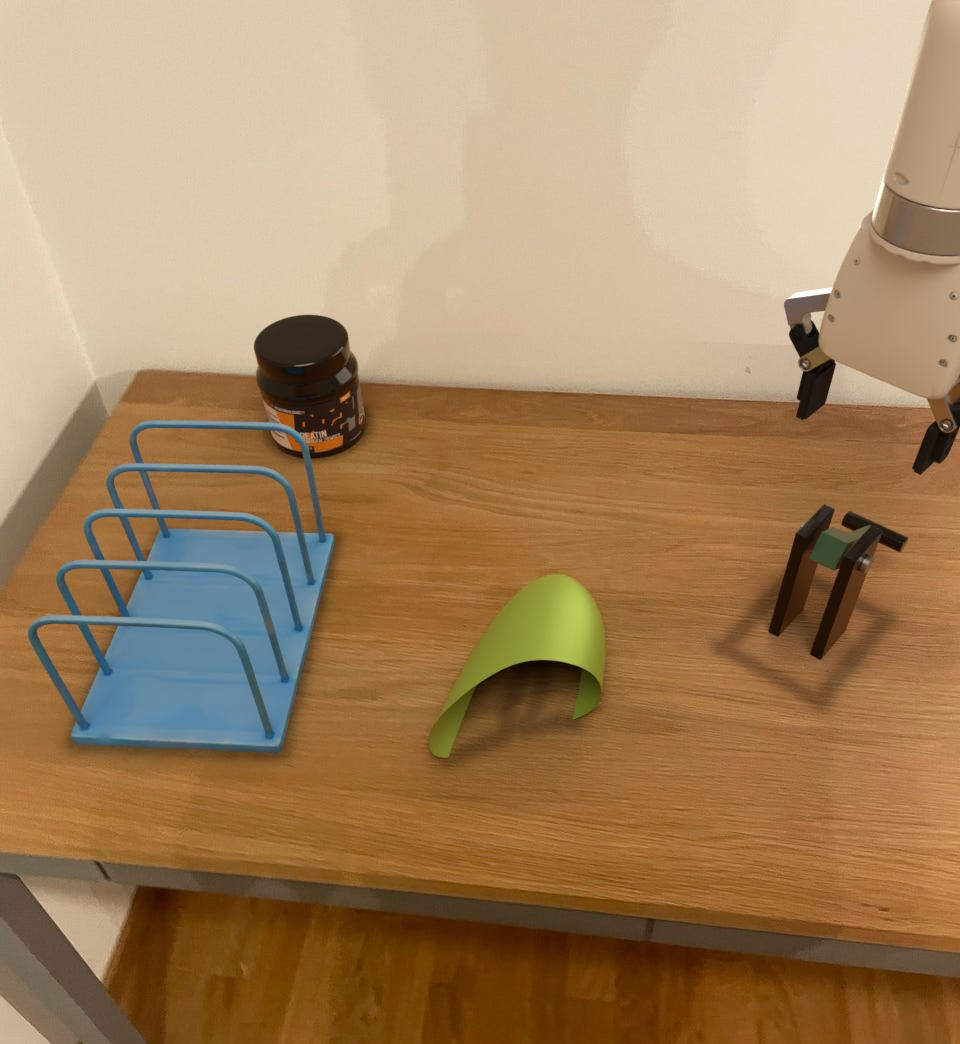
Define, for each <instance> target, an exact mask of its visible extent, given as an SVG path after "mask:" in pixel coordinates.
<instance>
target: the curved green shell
mask: <svg viewBox="0 0 960 1044" xmlns="http://www.w3.org/2000/svg"><path fill="white" fill-rule="evenodd" d="M598 606H599V605H598V604H597V602H596V601H595V599H594V597H593V596H592V595H591V592H589V590H588V589H587V588H586V587H585V586H584V585H583V584H582V583H581V582H579V581H578V580H577V579H575V578H573V577H571V576H569V575H566V574H561V573H551V574H547V575H543V576H540V577H537V578H536V579H534V580H532V581H531V582H529V583H527V584H526V585H525V586H523V587H522V588H520V590H519V591H517V592H516V593H515V594H514V595H513V596H512V597H511V598H510V599H509V600H508V601H507V602H506V603H505V604H504V605H503V607H502V608H501V609H500V610H499V612H498V613H497V614H496V615H495V617H494V618H493V619H492V621H491V622H490V624H489V625H488V626H487V628H486V629H485V631H484V632H483V634H482V635H481V636H480V639H479V640H478V642H477V643H476V645H475V646H474V648H473V650H472V651H471V653H470V654H469V656H468V658H467V660H466V663H465V664H464V665H463V668H462V669H461V671H460V673H459V675H458V677H457V679H456V680H455V683H454V685H453V686H452V688H451V690H450V692H449V694H448V696H447V698H446V700H445V702H444V704H443V706H442V708H441V710H440V712H439V714H438V716H437V717H436V720H435V722H434V724H433V726H432V727H431V730H430V732H429V735H428V741H427V743H428V748H429V751H430V753H431V754H432V756H435V757H437V758H444V759H446V758H449V757H450V753H451V751H452V749H453V746H454V742H455V740H456V738H457V735H458V732H459V729H460V727H461V724H462V722H463V720H464V717H465V714H466V713H467V712H466V711H467V710H468V707H469V704H470V702H471V700H472V697H473V694H474V692H475V690H476V688H477V686H478V685H479V684H480V683H481V682H483V681H485V680H486V679H488V678H489V677H491V676H493V675H494V674H496V673H499V672H501V670H504V669H506V668H509V667H511V666H514V665H517V664H521V663H524V662H530V661H531V662H532V661H553V662H561V663H566V664H569V665H573V666H576V667H579V668H581V672H580V681H579V686H578V691H577V698H576V702H575V706H574V711H573V716H572V721H574V720H576V719H578V718H581V717H583V716H585V715H586V714H588V713H590V712H591V711H592V710H594V709H595V707H597V706H598V704H599V702H600V700H601V698H602V693H603V685H604V680H605V672H606V662H607V637H606V635H607V634H606V629H605V624H604V621H603V617H602V614H601V611H600V608H599V607H598Z"/></svg>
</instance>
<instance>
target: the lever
mask: <svg viewBox="0 0 960 1044" xmlns="http://www.w3.org/2000/svg"><path fill="white" fill-rule="evenodd" d="M840 525H841V526H842V527H844V528H845V529H848V530H849V531H850V532H846V531H843V530H842V529H839V528H836V527H835V526H832V527H829V529H827V530H824V531H822V532H821V534H820V536H819V538H818V540H817V542H816V544H815V546H814V549H813V551H812V553H811V555H810V557H809V559H811V560H813V561H815V562H817V563H818V564H819V565H821V566H823V567H825V568H827V569H829V570H831V571H832V572H833V571H834V572H835V571H837V570H839V568H840V565H841V562H842V559H843V556H844V555H845V554H846V553H847V552H848V550H849V549H850V548H851V547H852V546H853V545H854V544H855V543H856V542H857V540H858V539H859V538H860V537H861V536H862V535H863V534H864V533H865V531H866V530H867V529H868V528H869V527H870V526H874V527H876V528H878V529H880V530H882V531H883V532H882V535H881V537H880V540H879V543H878V544H880V545H882V546H884V547H887V548H888V549H891V550H893V551H895V552H897V553H901V552H902V551H904V549H905V548H906V546H907V544H908V541H909V536H906V535H904V534H902V533H899V532H897V531H895V530H892V529H891V528H888V527H886V526H884V525H882V524H880V523H877V522H875V521H873V520H871V519H868V518H867V517H864V516H863V515H860V514H857V513H855V512H853V511H851V510H848V511H847V512H846V513H845V515H844V516H843V518H842V520H841V523H840Z"/></svg>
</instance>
